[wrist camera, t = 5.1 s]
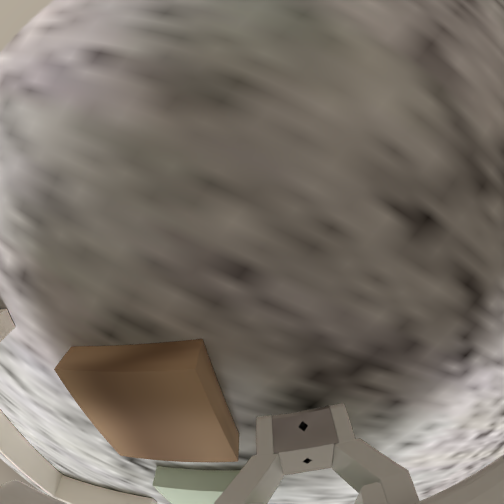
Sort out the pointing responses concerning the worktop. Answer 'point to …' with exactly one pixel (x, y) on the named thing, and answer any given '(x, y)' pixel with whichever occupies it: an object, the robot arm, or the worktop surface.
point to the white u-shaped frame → (41, 471)
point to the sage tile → (192, 484)
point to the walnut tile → (153, 400)
